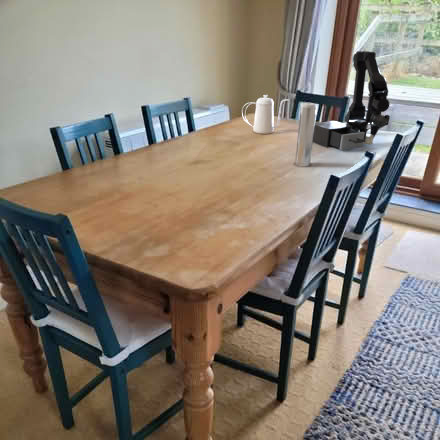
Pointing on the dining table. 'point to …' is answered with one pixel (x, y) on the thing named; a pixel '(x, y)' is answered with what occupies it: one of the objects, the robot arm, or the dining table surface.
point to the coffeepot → (264, 115)
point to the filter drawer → (346, 138)
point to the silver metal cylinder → (305, 134)
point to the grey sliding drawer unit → (326, 131)
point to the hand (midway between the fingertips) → (367, 140)
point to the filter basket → (368, 139)
